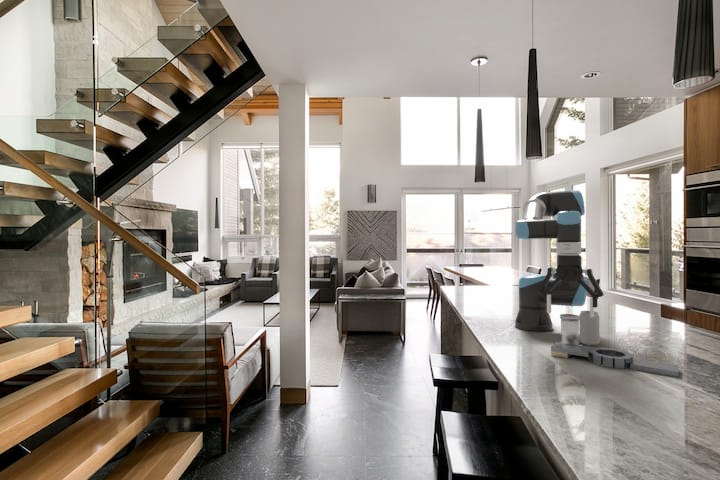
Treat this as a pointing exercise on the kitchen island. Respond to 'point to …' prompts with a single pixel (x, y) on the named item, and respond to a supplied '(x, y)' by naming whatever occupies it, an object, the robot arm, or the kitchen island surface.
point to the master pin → (570, 329)
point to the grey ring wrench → (613, 358)
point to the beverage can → (589, 328)
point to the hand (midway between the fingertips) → (569, 314)
